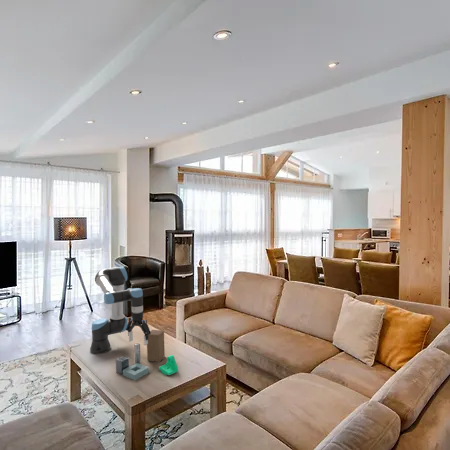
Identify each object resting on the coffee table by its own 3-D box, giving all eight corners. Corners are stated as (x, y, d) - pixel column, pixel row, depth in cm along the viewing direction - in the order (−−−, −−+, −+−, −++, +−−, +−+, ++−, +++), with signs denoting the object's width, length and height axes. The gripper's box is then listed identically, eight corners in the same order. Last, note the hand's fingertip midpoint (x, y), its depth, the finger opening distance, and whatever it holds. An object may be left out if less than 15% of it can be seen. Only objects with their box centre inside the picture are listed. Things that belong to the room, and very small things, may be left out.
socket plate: (122, 375, 216) (122, 370, 216) (137, 367, 226) (136, 362, 225) (134, 380, 209) (134, 375, 209) (148, 372, 219) (148, 367, 219)
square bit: (116, 372, 220) (115, 359, 219) (123, 368, 225) (123, 356, 224) (121, 374, 216) (121, 361, 216) (129, 371, 221) (128, 358, 221)
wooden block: (159, 362, 233) (159, 335, 232) (146, 361, 235) (146, 334, 234) (165, 356, 243) (164, 330, 242) (152, 355, 245) (152, 329, 244)
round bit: (133, 364, 231) (133, 345, 230) (138, 362, 234) (137, 343, 233) (137, 365, 228) (136, 346, 228) (141, 363, 232) (141, 344, 231)
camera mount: (158, 370, 221) (158, 356, 221) (167, 366, 227) (167, 352, 226) (168, 377, 213) (168, 361, 212) (178, 372, 218) (177, 357, 218)
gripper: (119, 310, 221) (120, 341, 222) (147, 315, 209) (148, 348, 210) (127, 307, 227) (128, 337, 228) (155, 312, 216) (156, 343, 216)
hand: (138, 342), depth 219 cm, fingers open, 13 cm apart
